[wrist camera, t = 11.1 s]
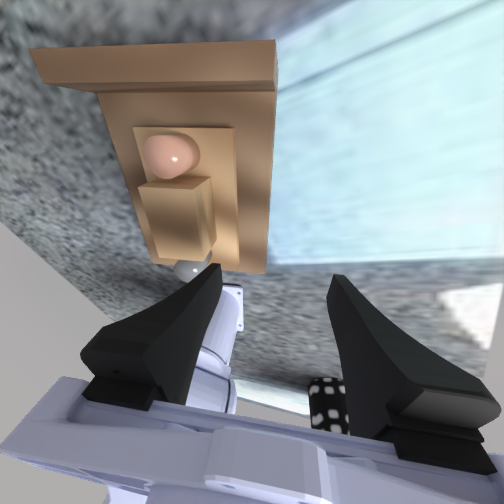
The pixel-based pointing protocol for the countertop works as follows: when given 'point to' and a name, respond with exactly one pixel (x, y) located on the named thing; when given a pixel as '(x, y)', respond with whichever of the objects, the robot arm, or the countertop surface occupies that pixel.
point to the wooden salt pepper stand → (191, 195)
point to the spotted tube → (328, 405)
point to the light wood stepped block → (184, 113)
